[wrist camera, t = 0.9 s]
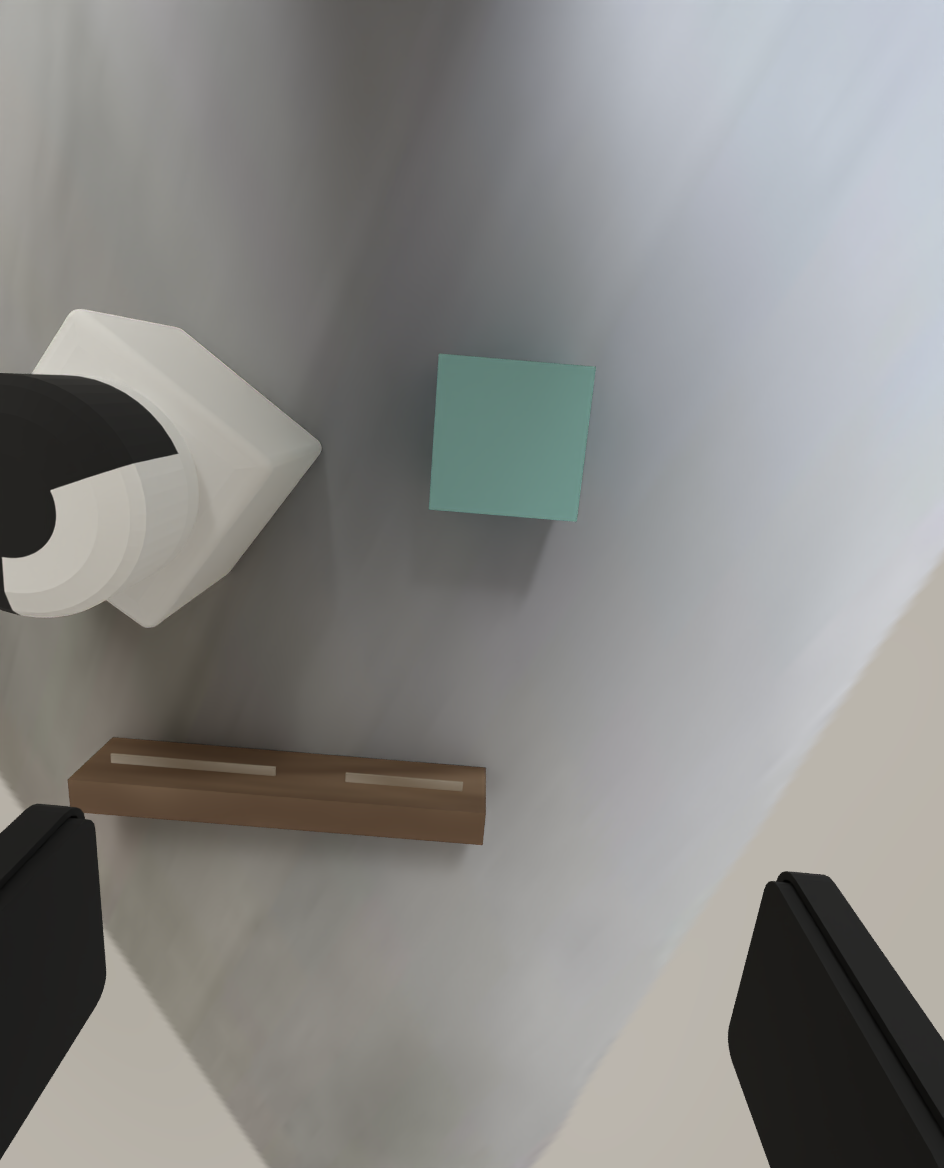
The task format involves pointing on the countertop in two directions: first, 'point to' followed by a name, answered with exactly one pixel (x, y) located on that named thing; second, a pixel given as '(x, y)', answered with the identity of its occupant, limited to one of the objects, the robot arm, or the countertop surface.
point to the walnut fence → (283, 790)
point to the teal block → (510, 437)
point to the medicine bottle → (134, 470)
